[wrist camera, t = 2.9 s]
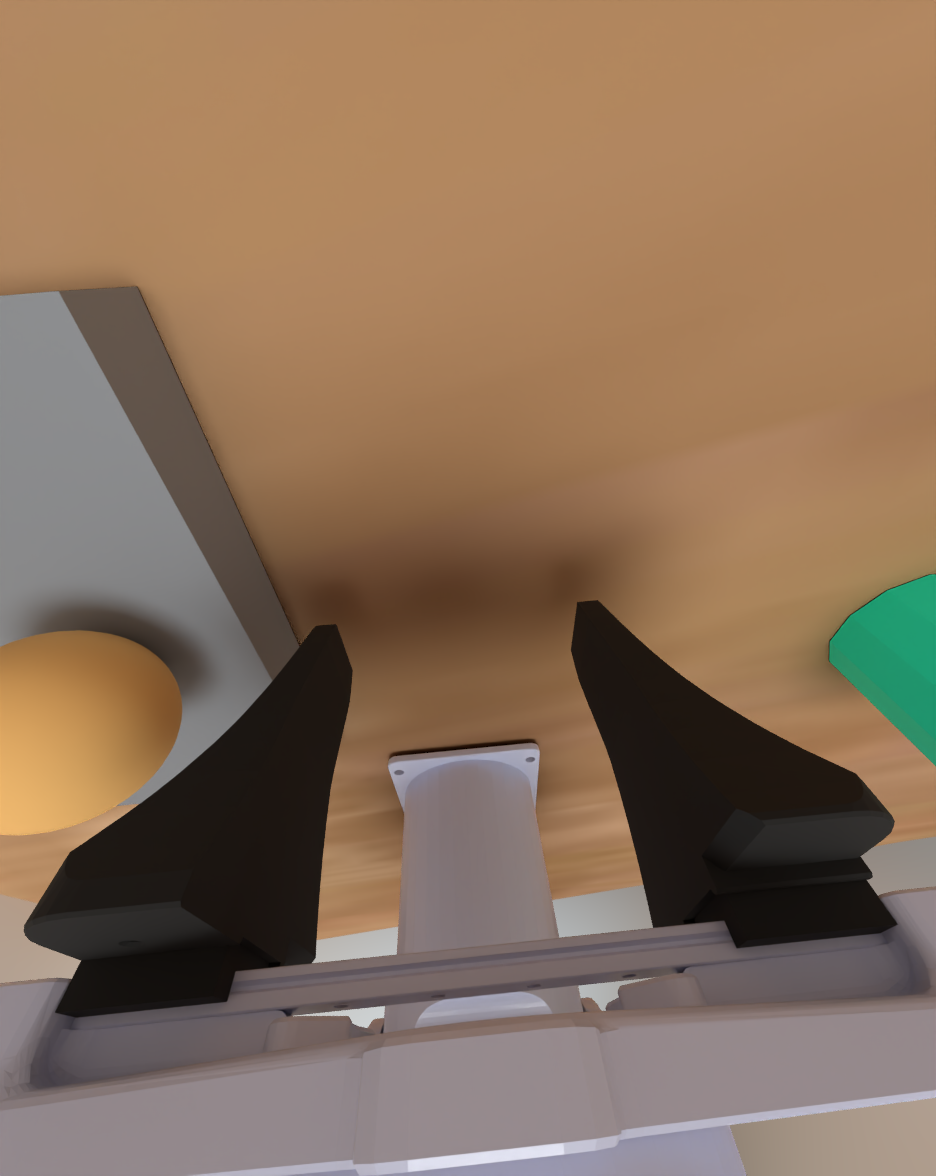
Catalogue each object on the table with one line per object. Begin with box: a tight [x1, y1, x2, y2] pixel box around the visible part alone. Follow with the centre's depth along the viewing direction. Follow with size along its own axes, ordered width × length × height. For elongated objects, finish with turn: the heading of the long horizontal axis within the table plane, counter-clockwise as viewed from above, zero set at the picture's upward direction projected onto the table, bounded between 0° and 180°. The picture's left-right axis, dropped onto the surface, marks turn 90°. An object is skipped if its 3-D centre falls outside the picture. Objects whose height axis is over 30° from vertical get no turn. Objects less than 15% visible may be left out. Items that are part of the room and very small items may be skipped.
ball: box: [0, 630, 182, 835], centre depth 11 cm, size 5×5×5 cm
